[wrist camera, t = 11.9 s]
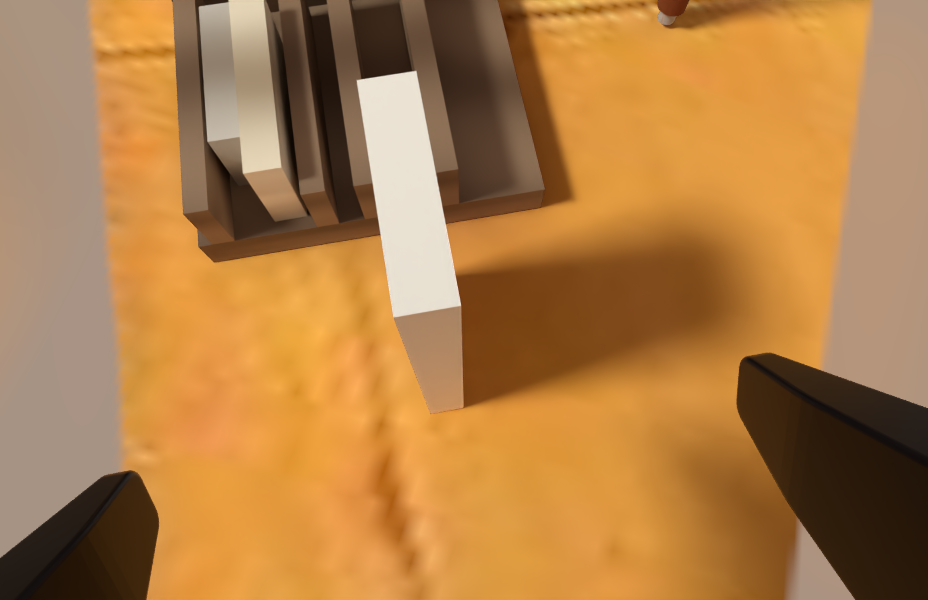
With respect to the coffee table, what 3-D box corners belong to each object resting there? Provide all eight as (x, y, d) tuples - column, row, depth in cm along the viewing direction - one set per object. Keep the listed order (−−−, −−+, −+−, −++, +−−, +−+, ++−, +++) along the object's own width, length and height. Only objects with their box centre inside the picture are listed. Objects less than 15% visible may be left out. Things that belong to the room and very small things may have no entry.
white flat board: (463, 407, 22) (461, 305, 11) (430, 414, 22) (393, 317, 11) (440, 278, 24) (416, 70, 13) (408, 283, 24) (356, 80, 13)
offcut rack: (540, 207, 25) (565, 108, 19) (214, 262, 24) (128, 178, 18) (486, -11, 28) (493, -156, 22) (199, 31, 28) (122, -106, 21)
